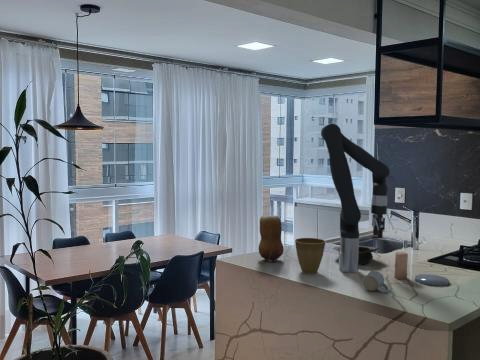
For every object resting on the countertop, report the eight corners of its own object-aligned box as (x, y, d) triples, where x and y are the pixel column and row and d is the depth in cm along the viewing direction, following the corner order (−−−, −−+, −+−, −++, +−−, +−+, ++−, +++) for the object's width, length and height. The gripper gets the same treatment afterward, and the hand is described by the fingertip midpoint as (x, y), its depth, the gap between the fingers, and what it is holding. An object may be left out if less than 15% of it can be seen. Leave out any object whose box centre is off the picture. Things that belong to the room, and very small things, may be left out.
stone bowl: (368, 268, 241) (368, 251, 240) (324, 264, 256) (324, 247, 255) (386, 258, 260) (385, 242, 260) (344, 255, 276) (343, 239, 275)
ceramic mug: (361, 290, 207) (362, 273, 206) (367, 285, 213) (368, 269, 213) (385, 295, 201) (386, 277, 200) (390, 290, 208) (391, 273, 207)
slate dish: (419, 285, 215) (419, 282, 215) (411, 276, 230) (411, 273, 230) (453, 286, 213) (453, 284, 213) (442, 277, 228) (443, 274, 228)
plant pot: (330, 272, 233) (331, 241, 232) (311, 278, 224) (311, 245, 222) (307, 266, 245) (308, 236, 243) (288, 271, 235) (288, 239, 233)
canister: (395, 279, 224) (397, 254, 223) (393, 275, 229) (394, 251, 228) (408, 279, 223) (409, 255, 222) (405, 276, 229) (406, 252, 228)
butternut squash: (266, 256, 264) (267, 212, 262) (287, 259, 257) (288, 214, 255) (253, 261, 253) (254, 215, 251) (274, 265, 246) (275, 218, 243)
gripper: (368, 202, 241) (366, 233, 242) (375, 205, 227) (373, 238, 228) (382, 203, 241) (381, 234, 242) (391, 206, 227) (389, 239, 228)
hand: (377, 236), depth 235 cm, fingers open, 8 cm apart
